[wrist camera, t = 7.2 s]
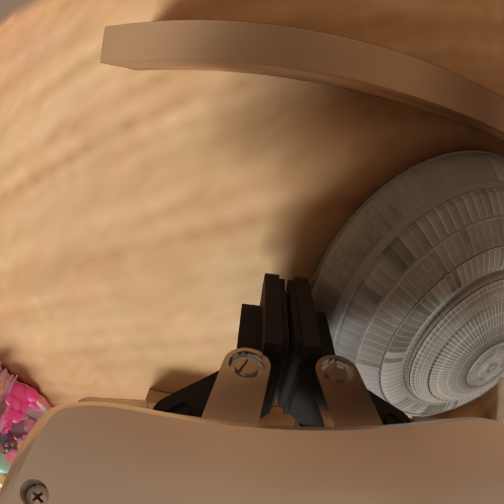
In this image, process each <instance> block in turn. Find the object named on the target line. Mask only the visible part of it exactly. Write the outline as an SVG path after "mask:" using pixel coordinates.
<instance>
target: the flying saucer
mask: <svg viewBox="0 0 504 504" xmlns="http://www.w3.org/2000/svg"><path fill="white" fill-rule="evenodd" d="M310 289H311V293H312V298H313V303H314V308H315V312H324V313H325V314H326V317H327V321H328V325H329V329H330V333H331V337H332V342H333V346H334V350H335V355H338V356H342V357H345V358H347V359H349V360H350V361H351V362H353V363H354V364H355V366H356V367H357V369H358V371H359V373H360V375H361V377H362V379H363V382H364V384H365V386H366V388H367V389H368V390H370V391H371V392H373V393H374V394H376V395H377V396H379V397H380V398H382V399H383V400H385V401H387V402H388V403H390V404H391V405H393V406H394V407H396V408H397V409H399V410H401V411H402V412H404V413H405V414H406V415H407V416H408V417H409V418H412V416H420V417H425V416H430V415H435V414H439V413H443V412H446V411H449V410H452V409H455V408H457V407H460V406H462V405H464V404H466V403H468V402H470V401H472V400H474V399H476V398H478V397H479V396H481V395H483V394H484V393H486V392H487V391H489V390H490V389H491V388H493V387H494V386H495V385H497V384H498V383H499V382H500V381H501V380H503V379H504V157H503V156H501V155H498V154H494V153H490V152H485V151H472V150H471V151H458V152H452V153H448V154H443V155H440V156H437V157H434V158H431V159H428V160H426V161H424V162H421V163H419V164H417V165H415V166H413V167H411V168H409V169H408V170H406V171H404V172H403V173H401V174H399V175H398V176H396V177H395V178H393V179H392V180H390V181H389V182H388V183H386V184H385V185H384V186H383V187H381V188H380V189H379V190H378V191H377V192H375V193H374V194H373V195H372V196H371V197H370V198H369V199H368V200H367V201H366V202H365V203H364V204H363V205H362V206H361V207H360V208H359V209H358V210H357V211H356V212H355V213H354V214H353V215H352V216H351V217H350V219H349V220H348V221H347V222H346V224H345V225H344V226H343V227H342V229H341V230H340V231H339V233H338V234H337V236H336V237H335V238H334V240H333V241H332V243H331V245H330V246H329V248H328V249H327V251H326V253H325V255H324V256H323V258H322V260H321V262H320V264H319V266H318V268H317V270H316V273H315V275H314V278H313V280H312V283H311V286H310Z"/></svg>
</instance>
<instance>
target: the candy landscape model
mask: <svg viewBox="0 0 504 504" xmlns="http://www.w3.org/2000/svg"><path fill="white" fill-rule="evenodd" d="M1 364H2V361H0V488H2V485H3V483H4V481H5V478H6V476H7V473H8V471H9V469H10V466H11V464H12V462H13V460H14V458H15V456H16V454H17V452H18V450H19V448H20V447H21V445H22V443H23V441H24V440H25V438H26V436H27V434H28V433H29V431H30V430H31V428H32V427H33V426H34V424H35V423H36V422H37V420H38V419H39V418H40V417H41V416H42V415H43V414H44V413H45V412H46V411H48V410H49V409H51V408H53V407H51V406H50V404H49V403H48V401H47V400H46V399H45V398H44V397H43V396H42V395H40V394H39V393H38V392H37V390H36V389H35V388H34V387H30V386H29V385H27V384H24V383H21V382H19V381H17V380H16V379H17V377H18V374H17V375H16V377H15V378H14V375H10V374H9V373H8V372H7V371H8V370H7V369H6V368H5V369H4V370H2V367H1ZM5 450H6V451H7V453H6V452H5Z"/></svg>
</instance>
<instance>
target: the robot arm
mask: <svg viewBox="0 0 504 504" xmlns="http://www.w3.org/2000/svg"><path fill="white" fill-rule="evenodd" d="M276 395H277V398H278V405H280V406H283V414H289V415H290V416H292V417H293V418H294V419H295V422H294V425H295V426H279V425H264V424H258V423H259V420H260V419H261V418H263V417H264V416H266V415H267V414H269V413H270V410H271V407H272V405H274V402H275V399H276ZM0 504H504V424H503V423H501V422H498V421H495V420H492V419H487V418H478V417H460V418H451V419H440V418H430V417H420V416H412V418H409V417H408V416H407V415H406V414H405V413H404V412H402V411H401V410H399V409H397V408H396V407H394V406H393V405H391V404H390V403H388V402H387V401H385V400H383V399H382V398H380V397H379V396H377V395H376V394H374V393H373V392H371V391H370V390H368V389H367V388H366V386H365V384H364V382H363V379H362V377H361V375H360V373H359V371H358V369H357V367H356V366H355V364H354V363H353V362H351V361H350V360H349V359H347V358H345V357H342V356H338V355H335V350H334V346H333V342H332V337H331V333H330V329H329V325H328V321H327V317H326V314H325V313H324V312H315V308H314V303H313V298H312V293H311V289H310V284H309V280H308V278H302V277H293V280H288V282H287V286H286V292H285V281H284V279H280V278H279V275H276V274H267V273H265V276H264V283H263V289H262V295H261V302H260V306H257V305H248V304H242V309H241V317H240V326H239V334H238V343H237V349H235V350H232V351H231V352H229V353H228V354H227V355H226V356H225V358H224V360H223V363H222V365H221V368H220V370H219V371H217V372H215V373H213V374H211V375H210V376H208V377H206V378H204V379H202V380H200V381H198V382H196V383H194V384H192V385H189V386H187V387H185V388H183V389H181V390H179V391H177V392H175V393H173V394H171V395H169V396H167V397H164V398H163V399H161V400H160V401H158V402H157V403H148V402H147V400H134V399H113V398H98V397H87V398H83V399H81V400H79V401H78V402H72V403H66V404H61V405H58V406H55V407H53V408H51V409H49V410H48V411H46V412H45V413H44V414H43V415H42V416H41V417H40V418H39V419H38V420H37V422H36V423H35V424H34V426H33V427H32V428H31V430H30V431H29V433H28V434H27V436H26V438H25V440H24V441H23V443H22V445H21V447H20V448H19V450H18V452H17V454H16V456H15V458H14V460H13V462H12V464H11V466H10V469H9V471H8V473H7V476H6V478H5V481H4V483H3V485H2V488H1V491H0Z"/></svg>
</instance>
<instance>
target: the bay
mask: <svg viewBox="0 0 504 504" xmlns="http://www.w3.org/2000/svg"><path fill="white" fill-rule="evenodd" d="M100 63H104V64H109V65H114V66H119V67H124V68H129V69H134V70H212V71H228V72H241V73H252V74H261V75H270V76H278V77H285V78H292V79H298V80H304V81H310V82H316V83H321V84H327V85H332V86H337V87H341V88H346V89H350V90H355V91H359V92H363V93H367V94H371V95H375V96H379V97H383V98H386V99H390V100H393V101H397V102H400V103H404V104H407V105H410V106H413V107H416V108H420V109H423V110H426V111H429V112H431V113H434V114H437V115H440V116H443V117H446V118H448V119H451V120H454V121H456V122H459V123H461V124H464V125H466V126H469V127H471V128H474V129H476V130H478V131H481V132H483V133H485V134H488V135H490V136H492V137H494V138H496V139H499V140H501V141H503V142H504V98H503V97H502V96H500V95H498V94H496V93H494V92H492V91H490V90H489V89H487V88H485V87H483V86H481V85H479V84H477V83H475V82H472V81H470V80H468V79H466V78H464V77H462V76H459V75H457V74H455V73H453V72H450V71H448V70H446V69H443V68H441V67H438V66H436V65H433V64H431V63H428V62H426V61H423V60H420V59H417V58H415V57H412V56H409V55H406V54H403V53H400V52H397V51H394V50H391V49H387V48H384V47H381V46H377V45H374V44H370V43H367V42H363V41H359V40H355V39H351V38H347V37H343V36H338V35H333V34H329V33H324V32H319V31H313V30H308V29H302V28H295V27H288V26H281V25H273V24H264V23H254V22H241V21H222V20H171V21H153V22H140V23H130V24H121V25H113V26H106V27H105V30H104V37H103V44H102V52H101V60H100ZM169 395H171V394H170V393H165V392H160V391H155V390H150V389H149V391H148V394H147V397H146V400H147V402H148V403H157V402H158V401H160V400H161V399H163V398H164V397H167V396H169ZM425 417H430V418H440V419H451V418H460V417H478V418H487V419H492V420H495V421H498V422H501V423H503V424H504V379H503V380H501V381H500V382H499V383H498V384H497V385H495V386H494V387H493V388H491V389H490V390H489V391H487V392H486V393H484V394H483V395H481V397H480V398H476V399H474V400H472V401H470V402H468V403H466V404H464V405H462V406H460V407H457V408H455V409H452V410H449V411H446V412H443V413H439V414H435V415H430V416H425ZM294 422H295V419H294V418H293V417H292V416H290V415H289V414H283V407H271V410H270V413H269V414H267V415H266V416H264V417H263V418H261V419H260V420H259V423H258V424H264V425H279V426H295V425H294Z"/></svg>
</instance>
